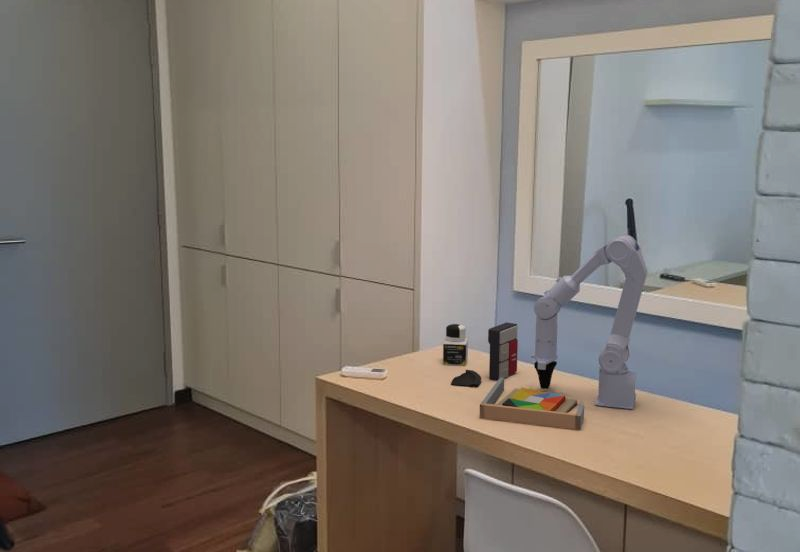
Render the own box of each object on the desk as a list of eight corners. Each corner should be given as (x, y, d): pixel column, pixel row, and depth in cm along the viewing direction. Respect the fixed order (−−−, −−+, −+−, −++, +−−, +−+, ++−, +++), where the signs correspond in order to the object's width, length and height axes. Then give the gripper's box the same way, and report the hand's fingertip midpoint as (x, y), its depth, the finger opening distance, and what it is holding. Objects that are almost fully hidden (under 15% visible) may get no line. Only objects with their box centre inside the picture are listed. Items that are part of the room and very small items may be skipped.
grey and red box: (500, 381, 214) (501, 331, 212) (487, 379, 217) (488, 328, 214) (518, 372, 223) (519, 323, 220) (505, 370, 225) (506, 322, 223)
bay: (589, 399, 199) (590, 386, 198) (579, 430, 177) (580, 416, 176) (499, 389, 207) (499, 377, 206) (479, 418, 185) (479, 404, 184)
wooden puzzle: (487, 414, 189) (487, 401, 189) (517, 394, 205) (517, 381, 204) (552, 427, 180) (552, 414, 179) (578, 405, 196) (579, 392, 195)
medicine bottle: (442, 365, 231) (443, 327, 229) (445, 358, 238) (445, 322, 236) (465, 366, 230) (466, 328, 228) (467, 359, 237) (468, 323, 235)
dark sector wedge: (487, 376, 221) (487, 370, 221) (478, 390, 209) (478, 384, 208) (459, 373, 224) (460, 368, 223) (449, 387, 211) (449, 381, 211)
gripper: (535, 332, 209) (534, 379, 212) (526, 345, 196) (525, 394, 198) (561, 334, 207) (559, 381, 209) (553, 347, 194) (552, 397, 196)
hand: (544, 388), depth 204 cm, fingers closed
